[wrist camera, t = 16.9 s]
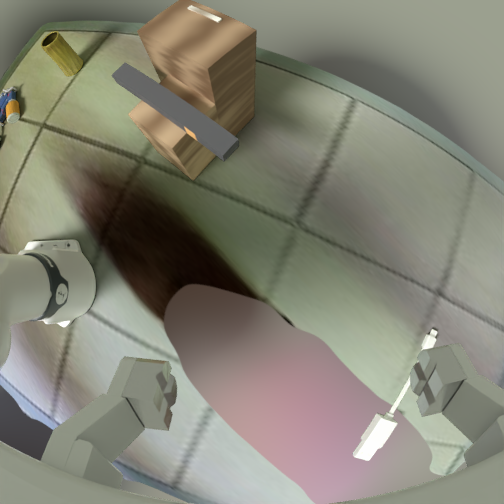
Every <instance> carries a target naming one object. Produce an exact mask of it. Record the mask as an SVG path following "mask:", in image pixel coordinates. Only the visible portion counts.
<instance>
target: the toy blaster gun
mask: <svg viewBox="0 0 504 504" xmlns="http://www.w3.org/2000/svg"><path fill="white" fill-rule="evenodd" d="M11 89H14V90H16V91H15V92H14V91H12V90H11ZM3 91H4V92H5V93H2V94H1V96H0V125H2V126H4V124H3V123H2V122H3V121H4V120H5V118H6V116H7V122H8V123H15V122H17V121H18V120H19V118H20V110H19V103H18V101H16V92H17V89H16V88H15V87H11V88H10V89H9V88H8V89H7V90H4V89H3ZM0 141H1V138H0Z"/></svg>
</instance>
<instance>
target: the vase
mask: <svg viewBox="0 0 504 504" xmlns="http://www.w3.org/2000/svg"><path fill="white" fill-rule="evenodd" d="M41 47H42V48H43V50H44V51H45V52H46V53H47V54H48V55H49V56H50V57H51V58H52V59H53V60H54V61H55V62H56V63H57V65H58V66H59V67H60V69H61V70H62V71H63V72H64V74H65V75H66V76H72V75H74V74H76V73H77V72H78V71H79V70H80V69H81V68H82V66H83V60H82V59H81V58H80V57H79V56H78V55H77V53H76V52H75V51H74V50H73V49H72V48H71V47H70V45H69V44H68V43H67V42H66V41H65V40H64V39H63V37H62V36H61V35H60V34H59V32H58V31H54V32H51V33H49V34H48V35H47V36H46V37H45V38H44V39H43V41H42V43H41Z"/></svg>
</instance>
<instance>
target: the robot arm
mask: <svg viewBox="0 0 504 504" xmlns="http://www.w3.org/2000/svg"><path fill="white" fill-rule="evenodd" d="M69 244H70V247H69ZM95 292H96V281H95V275H94V272H93V269H92V267H91V265H90V263H89V261H88V260H87V259H86V258H85V256H84V255H83V253H82V251H81V248H80V245H79V242H78V241H77V240H52V241H32V242H28V244H27V245H26V247H25V249H24V250H21V251H20V252H19V253H18V255H15V254H0V370H1V368H2V367H3V366H4V364H5V362H6V360H7V358H8V355H9V351H10V346H11V330H10V327H11V326H12V325H14V324H17V323H20V322H24V321H27V320H29V321H44V322H45V323H46V324H54V323H57V324H59V325H61V326H62V327H68V326H69V325H70V324H71V323H72V321H73V320H74V319H75V318H77V317H79V316H81V315H83V314H84V313H86V312H87V311H88V309H89V308H90V307H91V305H92V303H93V300H94V297H95ZM417 358H418V360H419V362H418V363H416V364H415V365H414V366H413V368H412V370H411V373H410V384H411V388H412V391H413V392H414V393H415V394H417V395H418V399H417V404H418V407H419V410H420V413H421V415H422V417H424V416H428V415H432V414H437V413H441V412H442V414H443V415H444V416H445V417H446V418H447V419H448V420H449V421H450V422H451V423H453V424H454V425H455V426H456V427H457V428H458V429H459V430H460V431H461V432H462V433H463V434H464V435H465V436H466V437H467V438H468V439H469V440H470V441H471V442H472V443H473V444H472V445H471V446H470V447H469V448H468V449H467V450H466V451H465V453H464V458H465V461H466V464H467V468H465V469H462V470H460V471H457V472H454V473H452V474H449V475H446V476H444V477H441V478H438V479H435V480H432V481H429V482H426V483H423V484H420V485H417V486H413V487H409V488H406V489H402V490H398V491H395V492H390V493H386V494H382V495H377V496H373V497H368V498H363V499H358V500H351V501H345V502H338V503H331V504H504V390H503V389H502V388H500V387H499V386H497V385H496V384H494V383H493V382H491V381H490V380H488V379H487V378H485V377H484V376H482V375H480V376H478V374H477V372H476V370H475V368H474V367H473V365H472V363H471V361H470V359H469V358H468V356H467V354H466V353H465V351H464V349H463V347H462V346H461V345H460V344H459V343H456V344H451V345H446V346H445V345H444V346H439V347H434V348H429V349H423V350H422V351H421V352H420V353H419V355H418V357H417ZM170 372H171V366H170V363H169V361H161V360H151V359H143V358H134V357H124V358H123V359H122V360H121V362H120V364H119V366H118V368H117V371H116V373H115V375H114V378H113V380H112V382H111V385H110V387H109V390H108V392H107V394H102V395H100V396H99V397H98V398H96V399H95V400H94V401H92V402H91V403H90V404H88V405H87V406H85V407H84V408H83V409H81V410H80V411H79V412H77V413H76V414H75V415H73V416H72V417H70V418H69V419H68V420H66V421H65V422H63V423H62V424H61V425H59V426H58V427H57V428H55V429H54V430H53V432H52V435H51V437H50V439H49V442H48V444H47V447H46V449H45V451H44V454H43V456H42V459H41V461H39V460H36V459H34V458H32V457H30V456H28V455H26V454H24V453H22V452H20V451H18V450H16V449H14V448H12V447H10V446H8V445H6V444H5V443H3V442H1V441H0V504H192V503H184V502H177V501H171V500H165V499H160V498H155V497H150V496H145V495H140V494H136V493H132V492H127V491H124V490H120V487H121V483H122V479H123V475H122V473H121V472H120V471H119V470H118V469H117V468H116V467H115V466H114V465H113V464H112V462H113V461H114V460H115V459H116V458H117V457H118V456H119V455H120V454H121V453H122V452H123V451H124V450H125V449H126V448H127V447H128V446H129V445H130V444H131V443H132V442H133V441H134V440H135V439H136V438H137V437H138V436H139V435H140V434H141V433H142V432H143V431H144V430H145V428H149V429H158V430H167V431H169V428H170V423H171V419H172V415H173V414H172V412H171V410H170V407H171V406H173V405H174V404H175V402H176V397H177V384H176V380H175V377H174V376H173V375H171V374H170Z"/></svg>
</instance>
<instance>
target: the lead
mask: <svg viewBox="0 0 504 504" xmlns="http://www.w3.org/2000/svg"><path fill="white" fill-rule="evenodd" d="M112 77H113V78H114V79H115V81H116V82H117V83H118V84H119V85H121V86H122V87H124V88H125V89H127V90H128V91H130V92H131V93H132V94H134V95H135V96H137V97H138V98H140V99H141V100H142V101H144V102H145V103H147V104H148V105H149V106H151V107H152V108H154V109H155V110H156V111H158V112H159V113H160V114H162V115H163V116H165V117H166V118H167V119H169V120H170V121H171V122H173V123H174V124H175V125H177V126H178V127H180V128H181V129H182V130H184V131H185V132H186V133H187V134H189V135H190V136H191V137H193V138H194V139H195V140H197V141H198V142H199V143H201V144H202V145H203V146H205V147H206V148H207V149H209V150H210V151H211V152H213V153H214V154H215V155H216V156H218V157H219V158H220V159H222V160H223V161H225V160H226V159H227V158H228V157H229V156H230V155H231V154H232V153H233V152H234V151H235V150H236V149H237V148H238V147H239V140H238V138H236V137H235V136H234V135H232V134H231V133H230V132H228V131H227V130H225V129H224V128H223V127H221V126H220V125H219V124H217V123H216V122H214V121H213V120H212V119H210V118H209V117H208V116H206V115H205V114H203V113H202V112H201V111H199V110H197V109H196V108H195V107H193V106H192V105H190V104H189V103H187V102H186V101H184V100H183V99H181V98H180V97H179V96H177V95H176V94H174V93H173V92H171V91H170V90H168V89H166V88H165V87H163V86H162V85H160V84H159V83H157V82H156V81H154V80H153V79H151V78H149V77H148V76H146V75H145V74H143V73H141V72H140V71H138V70H137V69H135V68H133V67H132V66H130V65H128V64H127V63H124V64H123V65H122V66H121V67H120V68H119V69H118V70H116V71H115V72H114V73H113V74H112Z"/></svg>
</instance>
